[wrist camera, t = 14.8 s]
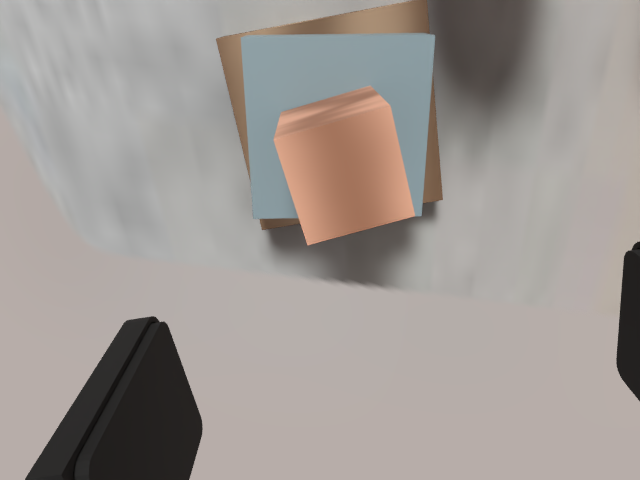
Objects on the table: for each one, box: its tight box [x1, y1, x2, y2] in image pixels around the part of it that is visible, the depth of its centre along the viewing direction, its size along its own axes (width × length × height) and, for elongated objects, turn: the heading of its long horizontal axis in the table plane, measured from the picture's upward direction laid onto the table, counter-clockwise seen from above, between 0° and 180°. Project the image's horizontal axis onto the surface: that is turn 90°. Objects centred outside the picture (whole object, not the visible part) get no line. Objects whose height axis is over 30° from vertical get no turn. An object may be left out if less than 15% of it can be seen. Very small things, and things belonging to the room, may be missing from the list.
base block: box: [216, 0, 443, 230], centre depth 32 cm, size 12×12×3 cm
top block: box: [241, 33, 435, 219], centre depth 30 cm, size 10×10×3 cm
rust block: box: [274, 86, 415, 245], centre depth 25 cm, size 5×5×7 cm
